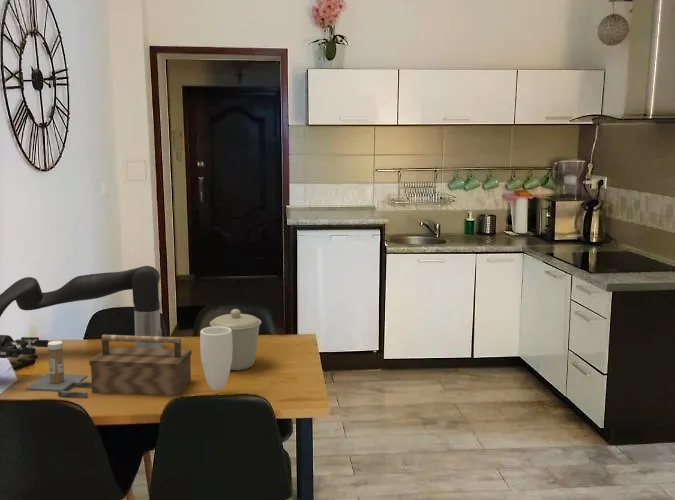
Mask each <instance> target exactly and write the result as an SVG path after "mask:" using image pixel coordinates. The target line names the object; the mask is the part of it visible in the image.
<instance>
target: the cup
mask: <svg viewBox="0 0 675 500" xmlns="http://www.w3.org/2000/svg"><path fill="white" fill-rule="evenodd" d="M199 335H200V337H199V338H200V340H199V347H200V348H199V351H200V361H201V366H202V370H203V371H202V372H203V374H204V378H205V380H206V383H207V385H208V387H209V389H211V390H215V391H218V390H223V389H224V388H225V386H226V384H227V383H228V379H229V375H230V374H231V373H230V372H231V370H230V368H231V363H232V350H233V343H232V330H231V329H230V328H228V327H223V326H213V327H212V326H208V327H207V326H206V327H204V328H201V330H200V333H199Z"/></svg>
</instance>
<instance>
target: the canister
mask: <svg viewBox="0 0 675 500" xmlns="http://www.w3.org/2000/svg"><path fill="white" fill-rule="evenodd" d="M261 324H262V320H261V319H260V318H258V317H256V316H255V315H252V314H247V313H242V312H241V310H240V309H238V308H234V309H231V310H230V313H227V314H222V315H219V316H217V317H215V318H214V319H212V320H211V321H210V322H209V325H210V327H213V326H223V327H228V328H230V329H231V330H232V343H233V350H232V363H231V368H230V371H232V370H237V371H243V370H242V369H244V370H247V369H249V367H250V368H251V367H252V366H253V365H254V364H255V361H256V358H257V351H258V350H257V349H258V343H259V342H258V341H259V330H260V325H261Z"/></svg>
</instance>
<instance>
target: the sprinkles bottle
mask: <svg viewBox="0 0 675 500" xmlns="http://www.w3.org/2000/svg"><path fill="white" fill-rule="evenodd" d="M63 344H64V343H63V341H62V340H52V341H49V343H48V347H47V349H48V366H49V370H48V371H49V374H50V382H51V383H61V382H63V381H64V380H65V379H64V374H65V372H64V371H65V369H64V367H65V365H64V356H63V354H64V353H63V348H64V345H63Z"/></svg>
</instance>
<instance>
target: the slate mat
mask: <svg viewBox="0 0 675 500" xmlns="http://www.w3.org/2000/svg"><path fill="white" fill-rule="evenodd" d="M87 378H88V375H87V374H69V373H68V374H67V373H64V379H65V380H64V381H63V382H61V383H51V382H50V373H46V374H44V375H43V376H42V377H40V378H39V379H37V380H36V381H34V382H33V383H31V384H30V385H28V386H27V387H25V391H36V392H37V391H40V392H59V391H60V390H62V389H63V388H64V387H66V386H67V385H68V384H70V383H71V382H72V381H73V382H84V380H85V379H87ZM74 388H75V387H74V386H72V387H71V388H70V389H69V390H68V391H71V390H73V389H74Z"/></svg>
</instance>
